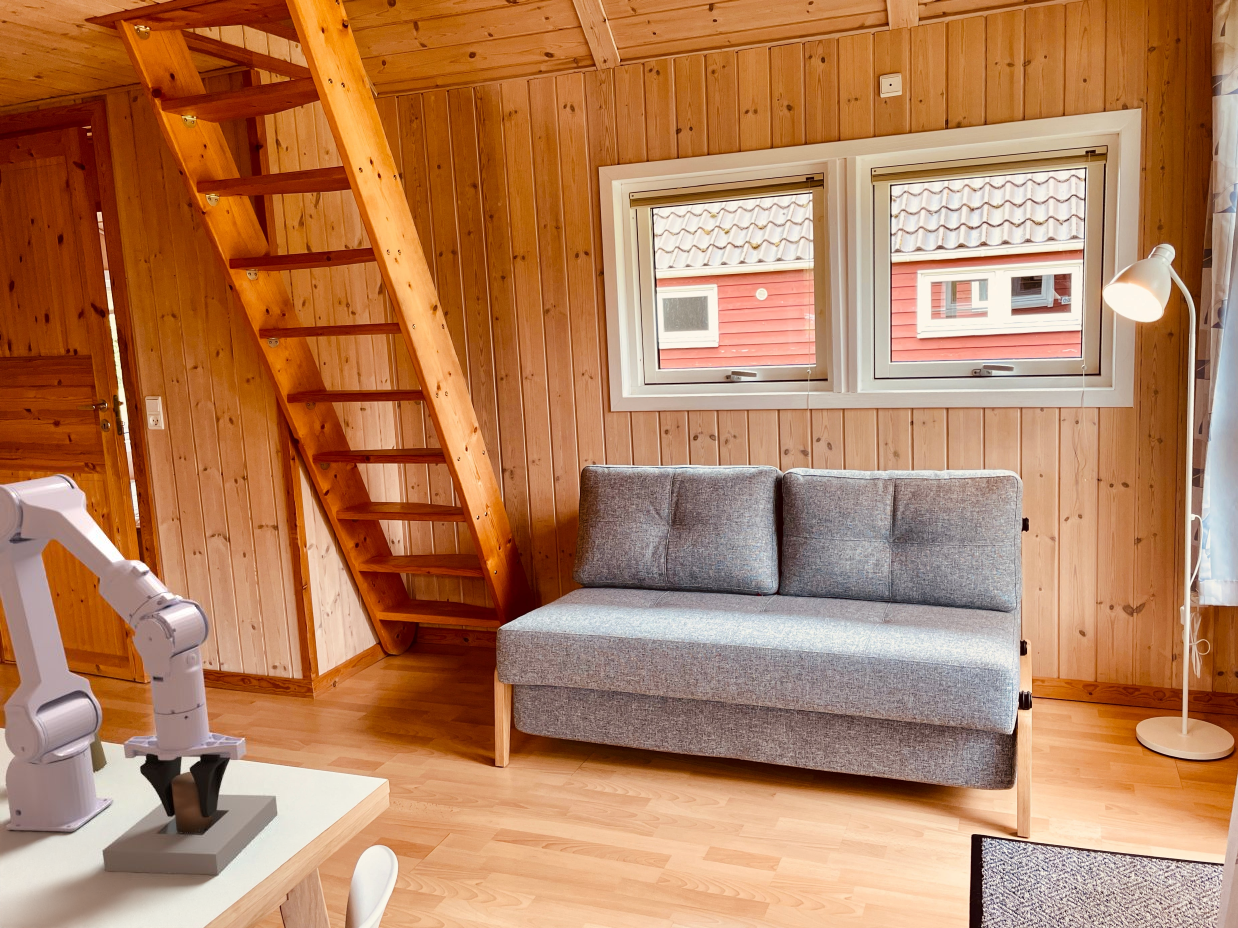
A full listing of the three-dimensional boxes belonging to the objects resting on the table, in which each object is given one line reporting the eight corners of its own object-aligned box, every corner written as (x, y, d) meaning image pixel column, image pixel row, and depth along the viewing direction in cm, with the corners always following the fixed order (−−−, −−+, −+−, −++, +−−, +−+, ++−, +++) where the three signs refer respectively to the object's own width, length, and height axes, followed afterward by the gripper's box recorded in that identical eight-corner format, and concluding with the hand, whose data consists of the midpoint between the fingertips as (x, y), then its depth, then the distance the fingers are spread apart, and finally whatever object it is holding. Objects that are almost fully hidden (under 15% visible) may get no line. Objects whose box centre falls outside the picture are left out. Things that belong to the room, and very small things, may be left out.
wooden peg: (169, 833, 117) (164, 785, 117) (187, 816, 121) (182, 770, 121) (201, 833, 117) (196, 785, 116) (218, 817, 121) (213, 770, 120)
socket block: (104, 870, 113) (102, 850, 113) (175, 811, 127) (173, 793, 127) (217, 874, 111) (215, 854, 111) (277, 814, 125) (275, 795, 125)
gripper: (102, 717, 114) (115, 828, 116) (218, 719, 112) (230, 831, 114) (139, 695, 121) (152, 799, 123) (250, 696, 119) (261, 802, 121)
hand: (192, 813), depth 119 cm, fingers closed on wooden peg, 4 cm apart
